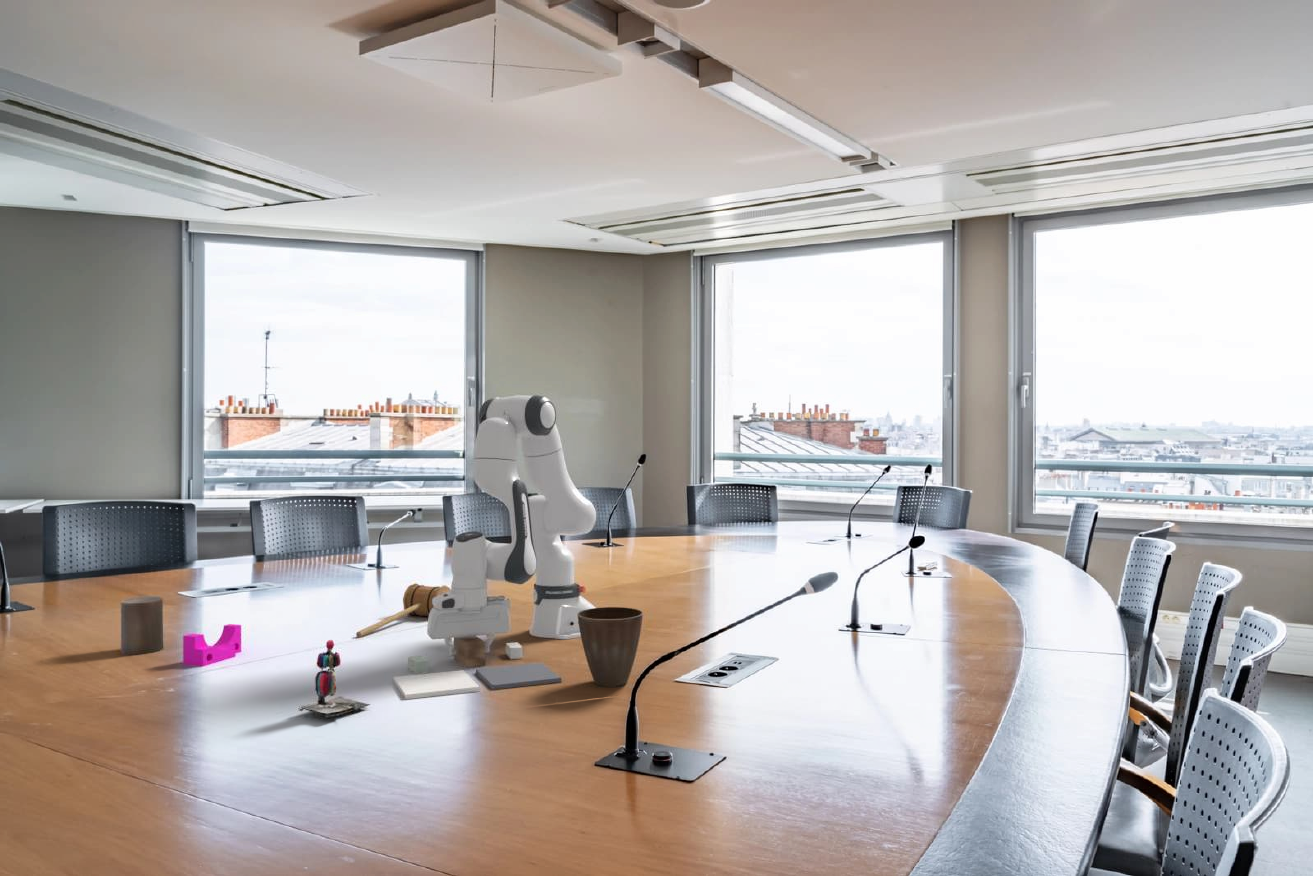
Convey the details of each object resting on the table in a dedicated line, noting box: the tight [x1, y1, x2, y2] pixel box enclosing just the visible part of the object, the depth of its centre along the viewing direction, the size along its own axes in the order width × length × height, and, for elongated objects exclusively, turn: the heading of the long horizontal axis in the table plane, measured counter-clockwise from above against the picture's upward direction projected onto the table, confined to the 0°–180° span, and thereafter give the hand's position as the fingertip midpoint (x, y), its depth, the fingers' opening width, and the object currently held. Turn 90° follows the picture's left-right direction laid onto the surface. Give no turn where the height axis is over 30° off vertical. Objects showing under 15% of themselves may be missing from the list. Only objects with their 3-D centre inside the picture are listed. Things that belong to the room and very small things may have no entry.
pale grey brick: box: [505, 641, 523, 660], centre depth 244 cm, size 6×3×3 cm, turn 20°
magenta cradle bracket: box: [182, 623, 242, 667], centre depth 240 cm, size 15×6×8 cm, turn 160°
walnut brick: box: [453, 636, 486, 669], centre depth 237 cm, size 5×10×6 cm, turn 28°
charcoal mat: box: [475, 661, 562, 691], centre depth 223 cm, size 16×16×1 cm
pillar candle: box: [120, 594, 164, 656], centre depth 248 cm, size 10×10×15 cm
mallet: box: [355, 583, 451, 638], centre depth 281 cm, size 12×38×10 cm, turn 158°
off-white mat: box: [393, 669, 480, 700], centre depth 215 cm, size 16×16×1 cm
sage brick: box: [407, 655, 430, 675], centre depth 229 cm, size 6×3×3 cm, turn 32°
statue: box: [297, 639, 371, 718], centre depth 195 cm, size 11×9×15 cm
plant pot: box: [577, 606, 644, 688], centre depth 218 cm, size 15×15×16 cm
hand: (469, 653), depth 237 cm, fingers open, 7 cm apart
